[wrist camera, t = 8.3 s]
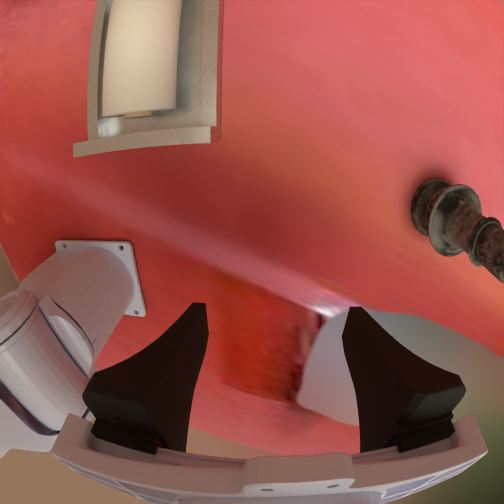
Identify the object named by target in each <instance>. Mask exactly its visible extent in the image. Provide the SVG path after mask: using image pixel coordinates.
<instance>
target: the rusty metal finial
mask: <svg viewBox="0 0 504 504" xmlns="http://www.w3.org/2000/svg"><path fill="white" fill-rule="evenodd" d="M411 218H412V221H413V224H414V226H415V227H416V229H417V230H418V231H419V232H420V233H421V234H423V235H426V236H429V239H430V243H431V244H432V246H433V248H434V249H435V250H436V251H437V252H438V253H439V254H440V255H443V256H447V257H452V256H455V255H458V254H460V253H462V252H463V251H465V252H466V253H467V254H469V258H470V261H471V262H472V263H473V264H474V265H475V266H477V267H482V266H484V267H485V268H486V269H487V270H488V271H489V272H491V273H492V274H493V275H494V276H495V277H496V278H497V279H498V280H499V281H500V282H502V283H504V230H503V229H502V226H501V223H500V222H499V220H497V219H496V218H494V217H488V218H486V217H484V216H483V215H482V209H481V203H480V200H479V198H478V195H477V194H476V193H475V191H474V190H473V189H471V188H470V187H468V186H467V185H462V184H458V185H453V186H451V185H450V183H449V182H447V181H445V180H444V179H440V178H433V179H429V180H428V181H426V182H424V183H423V184H422V185H421V186H420V187H419V188H418V190H417V191H416V193H415V195H414V198H413V200H412V206H411Z"/></svg>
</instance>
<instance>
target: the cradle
mask: <svg viewBox="0 0 504 504" xmlns="http://www.w3.org/2000/svg"><path fill="white" fill-rule="evenodd" d="M111 5H112V0H97V4H96V9H95V15H94V21H93V28H92V35H91V43H90V53H89V66H88V85H87V126H88V141H84V142H79V143H75V144H73V155H74V157H80V156H85V155H91V154H97V153H104V152H111V151H118V150H126V149H134V148H143V147H153V146H165V145H179V144H198V143H212V142H216V141H219V140H221V89H222V42H223V15H224V0H182V8H181V19H180V30H179V44H178V62H177V89H176V110H173V111H167V112H160V113H154V116H148V117H140V118H130V119H124V117H112V118H103V117H102V91H103V70H104V57H105V46H106V37H107V30H108V23H109V16H110V10H111Z"/></svg>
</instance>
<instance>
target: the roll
mask: <svg viewBox="0 0 504 504" xmlns="http://www.w3.org/2000/svg"><path fill="white" fill-rule="evenodd" d="M181 8H182V0H112V5H111V10H110V16H109V23H108V30H107V37H106V46H105V57H104V70H103V91H102V117H103V118H112V117H124V119H130V118H140V117H148V116H154V113H160V112H167V111H173V110H176V89H177V62H178V44H179V30H180V19H181Z"/></svg>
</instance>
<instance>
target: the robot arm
mask: <svg viewBox="0 0 504 504" xmlns="http://www.w3.org/2000/svg"><path fill="white" fill-rule="evenodd" d="M121 245H122V246H123V248H124V249H122V248H121ZM66 246H67V247H66ZM55 247H56V252H55V253H54V254H52V255H51V256H50V257H49V258H47V259H46V260H45V261H44V262H42V263H41V264H40V265H39V266H38V267H36V268H35V269H34V270H33V271H32V272H31V273H29V274H28V275H27V276H26V277H25V278H24V279H23V280H22V282H21V283H20V285H19V287H18V289H16V290H13V291H11V292H9V293H7V294H5V295H4V296H2V297H1V298H0V459H1V457H2V456H3V455H4V454H5V453H6V452H7V451H8V450H9V449H11V448H15V449H23V450H31V451H41V452H47V451H50V450H51V449H52V450H51V454H52V455H53V456H55V457H56V458H57V459H58V460H60V461H61V462H63V463H64V464H65V465H66V466H68V467H69V468H70V469H72V470H73V471H74V472H76V473H77V474H80V475H82V476H84V477H86V478H88V479H91V480H93V481H95V482H97V483H100V484H102V485H104V486H107V487H110V488H112V489H114V490H117V491H120V492H122V493H125V494H127V495H130V496H133V497H136V498H139V499H142V500H145V501H149V502H151V503H155V504H383V503H386V502H390V501H393V500H396V499H399V498H401V497H405V496H408V495H410V494H413V493H415V492H418V491H421V490H423V489H426V488H428V487H430V486H433V485H435V484H437V483H439V482H442V481H444V480H446V479H448V478H451V477H453V476H455V475H457V474H459V473H461V472H462V471H464V470H465V469H466V468H468V467H469V466H470V465H472V464H473V463H475V462H476V461H477V460H479V459H480V458H481V457H482V456H484V455H485V454H486V453H487V452H488V450H487V447H486V445H485V442H484V439H483V437H482V434H481V432H480V429H479V427H478V425H477V423H476V420H475V418H474V415H472V416H469V417H466V418H464V419H461V420H459V421H457V422H455V423H454V424H452V422H451V419H452V418H453V414H452V410H453V409H454V408H455V407H456V405H457V404H458V403H459V402H460V401H461V399H462V398H463V396H464V394H465V392H466V388H465V386H464V384H463V382H462V380H461V378H460V377H459V375H457V374H454V373H451V372H449V371H446V370H443V369H441V368H439V367H437V366H434V365H432V364H431V363H429V362H427V361H425V360H423V359H422V358H420V357H418V356H417V355H415V354H414V353H412V352H411V351H410V350H408V349H407V348H405V347H404V346H403V345H401V344H400V343H399V342H398V341H397V340H395V339H394V338H393V337H392V336H391V335H390V334H389V333H387V332H386V331H385V330H384V329H383V328H382V327H381V326H380V325H379V324H378V323H377V322H376V321H375V320H374V319H373V318H372V317H371V316H370V315H369V314H368V313H367V312H366V311H365V310H364V309H363V308H362V307H350V308H349V312H348V316H347V320H346V324H345V327H344V331H343V334H342V341H343V348H344V354H345V357H346V361H347V364H348V367H349V371H350V374H351V378H352V381H353V384H354V388H355V393H356V399H357V406H358V415H359V426H360V453H358V454H351V455H349V454H346V453H324V454H311V455H289V456H259V457H255V458H251V459H234V458H224V457H214V456H205V455H198V454H192V453H186V443H187V434H188V426H189V418H190V412H191V405H192V400H193V394H194V389H195V385H196V382H197V379H198V375H199V372H200V369H201V366H202V362H203V359H204V356H205V352H206V348H207V342H208V335H209V331H208V322H207V313H206V304H205V303H192V304H191V305H190V307H189V308H188V309H187V310H186V311H185V312H184V313H183V314H182V315H181V316H180V318H179V319H178V320H177V321H176V322H175V323H174V324H173V325H172V326H171V327H170V328H169V329H168V330H167V331H165V332H164V333H163V334H162V335H161V336H160V337H159V338H158V339H156V340H155V341H154V342H153V343H151V344H150V345H149V346H147V347H146V348H145V349H143V350H141V351H140V352H138V353H137V354H135V355H133V356H132V357H130V358H128V359H126V360H124V361H122V362H120V363H118V364H116V365H114V366H111V367H109V368H106V369H104V370H101V371H98V369H97V368H96V366H95V363H94V362H95V361H96V359H97V357H98V355H99V354H100V352H101V350H102V349H103V347H104V345H105V344H106V342H107V340H108V339H109V337H110V335H111V334H112V332H113V331H114V329H115V327H116V326H117V324H118V323H119V321H120V319H121V318H122V316H123V315H124V314H125V315H133V316H141V317H144V316H145V315H146V308H145V304H144V300H143V295H142V291H141V287H140V282H139V277H138V273H137V268H136V263H135V257H134V252H133V246H132V244H131V243H130V242H128V241H90V240H58V241H56V242H55ZM137 311H138V312H137ZM93 416H95V418H96V420H95V422H94V424H93V423H92V422H90V421H91V420H92V418H93Z"/></svg>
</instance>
